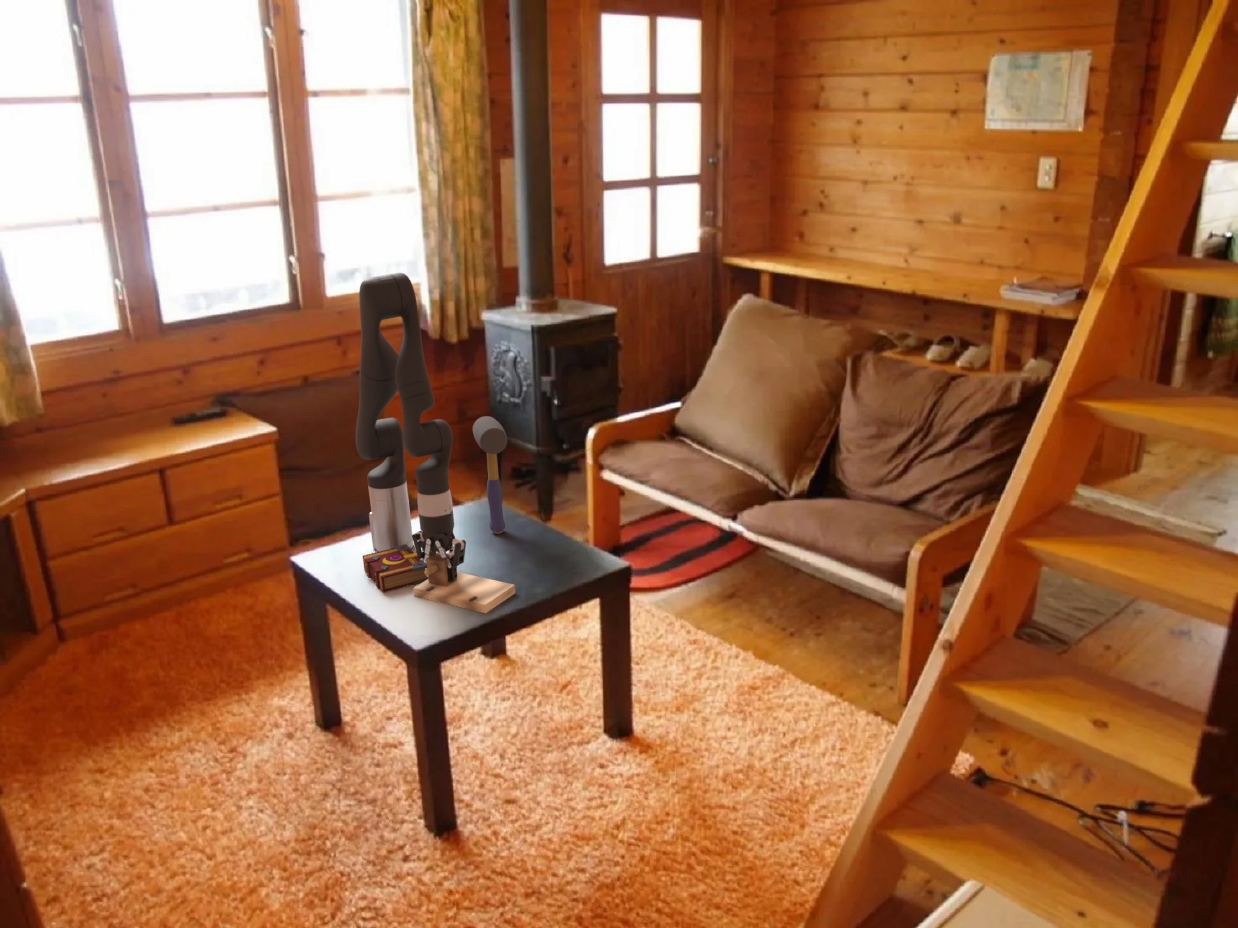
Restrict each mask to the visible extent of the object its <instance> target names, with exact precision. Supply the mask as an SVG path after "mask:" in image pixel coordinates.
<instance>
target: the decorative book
mask: <svg viewBox="0 0 1238 928" xmlns="http://www.w3.org/2000/svg"><path fill="white" fill-rule="evenodd" d="M362 561H363V570H364V572H365V573H366V576H367V577H368V578H371V580H372V581H373V582H374V583H375V586H376V588H377V589H378V590H381V591H382V592H383V593H387V592H390V591H394V590H400V589H403V588H406V587H409V586H417V585H419V584H421V583H422V582H424V581H426V580H427V579H428V576H426V575H425V573H424V571H425V570H427V567H426V563H425V561H424V560H423V559H419V558H418V555H417V552H414V551H413V549H412V548H410V547H409V546H408V545H407V544H405V545H401V546H397V547H393V548H392V549H388V550H384V551H380V552H378V551H376V552H372V553H367V554H364V555H362Z"/></svg>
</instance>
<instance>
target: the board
mask: <svg viewBox="0 0 1238 928" xmlns="http://www.w3.org/2000/svg"><path fill="white" fill-rule="evenodd" d="M457 575H458V577H457V581H455V582H453V583H452V584H450V585H448V586H447V587H444V586H440V585H436V584H431V583H429V581H428V579H427V580H426V581H424V582H422V583H421V584H418V585H415V586H414V587H413V589H412V590H413V596H414V597H417V598H423V599H424V600H425V599H426V600H430V601H433V602H437V603H441V604H446V605H450V606H455V607H459V608H463V609H467V610H471V611H475V612H477V613H478V612H479V613H482V614H483V613H484V614H487V613H489V611H491V610H492V609H494V608H495V607H497V606H499V605H500V604H501V603H503V602H505V601H506V600H507V599H509V598H511V597H512V596H513V595H515V594H516V586H515V584H513V583H508V582H504V581H499V580H494V579H490V578H486V577H481V576H476V575H473V574H468V573H464V572H460V571H457Z"/></svg>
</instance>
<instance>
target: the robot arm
mask: <svg viewBox="0 0 1238 928" xmlns="http://www.w3.org/2000/svg"><path fill="white" fill-rule="evenodd" d="M358 294H359V295H358V297H359V299H358V300H359V301H358V302H359V303H358V304H359V317H360V334H361V335H360V336H361V337H360V339H361V340H360V359H359V377H358V378H359V401H358V402H359V403H358V412H357V419H356V426H355V446H356V451H357V453H358V455H359V456H360V457H361V459H363V460H368V461H369V460H370V461H371V460H377V459H383V458H386V459H384V461H383V462H382V463H381V464H379V465H378V466H376V467H375V468H372V469H371V470H370V471H369V472H368V474H367V477H366V478H367V487H368V495H369V501H370V510H371V511H370V512H368V513H369V514H368V518H369V519H368V520H369V527H370V533H371V534H370V535H371V542H372V543H371V544H372V548H373V549H374V550H375V551H376V552H380V551H384V550H388V549H392V548H393V547H397V546H401V545H405V544H407V545H408V546H409V547H410V548H411V549H412V548H413V546H414V549H415V551H416V552H415V553H417V555H418V558H419V559H421V560H423V561H424V562H425V563H426V567H427V562H426V558H428V557H431V555H433V554H436V553H437V552H439V553H440V554H441V556H442V558H443V559H444V560H445V561H446V565H447V575H448V582H450V583H452V582H454V581H455V580H456V579H457V577H458V575H457V572H458V566H460V565H462V564H464V562H465V555H466V547H467V541H466V540H465V539H462V540H460V539H457V538H456V536H455V534H454V528H455V518H454V508H453V499H452V498H453V497H452V493H451V488H450V479H449V468H450V461H451V455H452V450H453V444H454V443H453V442H454V435H453V431H452V428H451V425H450V424H449V423H448V422H447V421H445V420H444V419H434V420H433V419H432V420H428V421H424V422H421V416H422V414H423V413H424V412H426V411H428V410H431V409H433V408H434V407H435V403H436V402H435V396H434V392H433V387H432V386H431V381H430V377H429V373H428V370H427V365H426V361H425V353H424V347H423V345H424V344H423V340H422V339H423V337H422V329H421V322H420V317H419V316H420V315H419V310H418V303H417V298H416V292H415V289H414V286H413V284H412V281H411V279H410V277H409V276H408V275H407V274H406V273H402V272H395V273H390V274H383V275H378V276H372V277H371V276H370V277H369V278H368V277H367V278H366V279H365V278H364V279H363V280H362V281H361V283H360V286H359V292H358ZM399 317H401V321H402V327H403V335H402V343H401V347H400V349H399V353H398V351H397V350H396V349H395V348H394V346H393V345H392V344H391V343H390V342H389V341H388V340H387V339H386V337H385V336H384V334H383V333H382V331H381V323H382V321H384V320H389V319H390V320H391V319H394V318H399ZM397 393H398V395H399V399H400V403H401V406H402V426H401V423H400V421H399V420H398V419H397V418H395V417H385V418H381V419H379V416H380V414H382V412H384V411H383V410H384V409H385V408H387V406H388V405H389V403H391V401H392V400H393V399H394V397H395V396H396V394H397ZM405 450H406V452H407V453H408V455H411V457H414V458H421V457H424V456H430V457H429V458H428V459H427V460H426V461H425V462H423V463H421V464H420V465H418V466H417V467H416V468H415V480H416V490H417V499H416V500H417V509H418V510H417V511H418V520H419V529H420V530H419V531H417V532H415V533H413V529H412V527H413V526H412V519H411V511H410V504H409V503H410V502H409V493H408V484H407V478H406V477H407V476H406V472H407V471H406V463H405V462H406V461H405V460H406V459H405ZM450 557H451V560H452V561H451V560H450Z"/></svg>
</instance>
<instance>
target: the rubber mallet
mask: <svg viewBox="0 0 1238 928" xmlns="http://www.w3.org/2000/svg"><path fill="white" fill-rule="evenodd" d="M472 433H473V437H474V441H475V442H476V443H477V445H478V447H479V448H481V450H482V451H483V452H485V453H486V461H487V465H486V466H487V474H488V475H487V476H488V479H487V482H486V491H487V492H486V493H487V502H488V506H489V507H488V508H489V517H490V518H489V519H490V521H489V529H490V531H491V532H492V533H493V534H501V533H503V532H504V530H505V529H506V523H505V520H504V512H503V500H504V499H503V489H502V483H501V480H500V477H499V467H498V455H497V454H500V453H501V452H502V451H504V450H505V449H506V447H507V444H508V436H507V433H506V431H505V429H504V427H503V426H502V424H501V423H500V422H499V421H497V420H496V419H495V418H494V417H493V416H488V415H487V416H486V415H484V416H481V417H478V419H476V421H474V423H473V425H472Z"/></svg>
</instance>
